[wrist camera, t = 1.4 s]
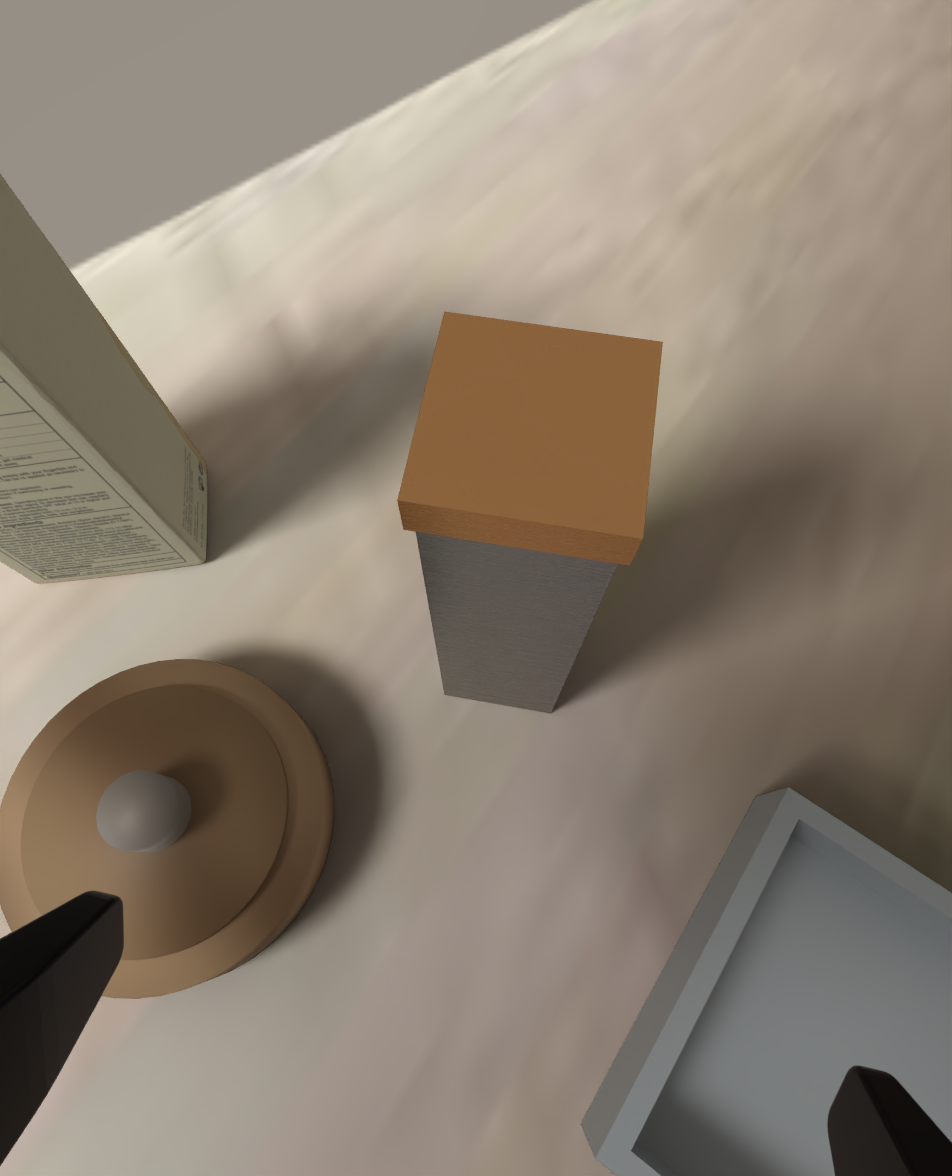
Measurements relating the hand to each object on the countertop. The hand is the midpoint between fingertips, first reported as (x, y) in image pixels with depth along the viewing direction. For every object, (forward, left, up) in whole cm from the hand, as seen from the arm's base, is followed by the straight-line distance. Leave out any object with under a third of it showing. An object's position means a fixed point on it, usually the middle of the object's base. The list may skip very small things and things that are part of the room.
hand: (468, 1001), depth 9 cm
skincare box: (+3, +18, -13) cm, 22 cm away
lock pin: (+7, +4, -13) cm, 15 cm away
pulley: (-3, +9, -13) cm, 16 cm away
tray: (+3, -10, -13) cm, 17 cm away
